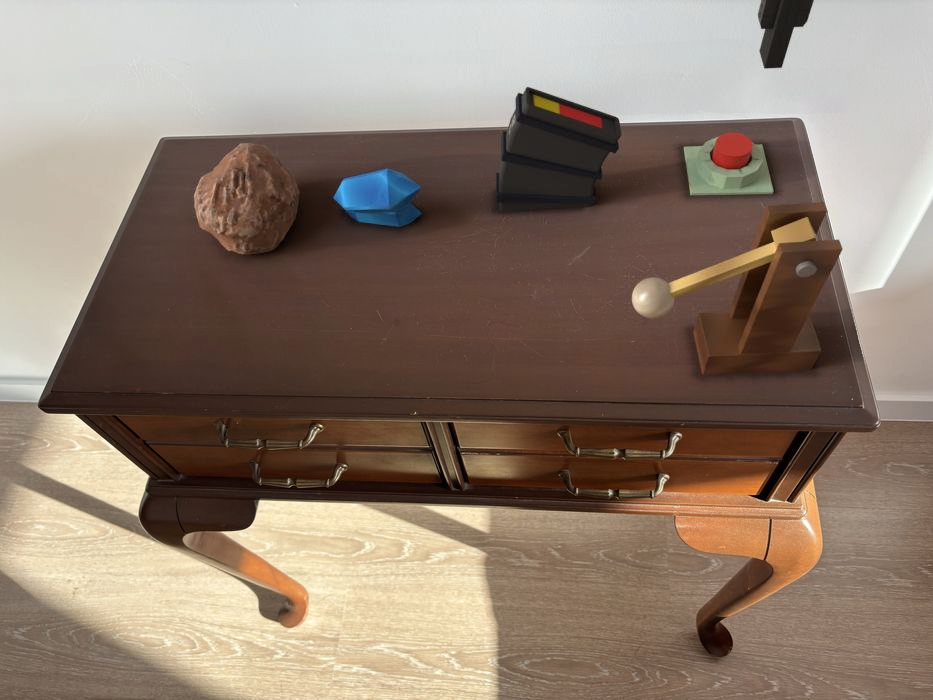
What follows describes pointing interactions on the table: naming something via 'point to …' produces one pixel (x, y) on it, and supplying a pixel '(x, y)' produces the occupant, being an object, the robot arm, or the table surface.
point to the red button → (732, 151)
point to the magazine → (553, 153)
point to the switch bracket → (771, 303)
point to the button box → (726, 173)
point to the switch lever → (713, 272)
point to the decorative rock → (247, 200)
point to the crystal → (379, 198)
